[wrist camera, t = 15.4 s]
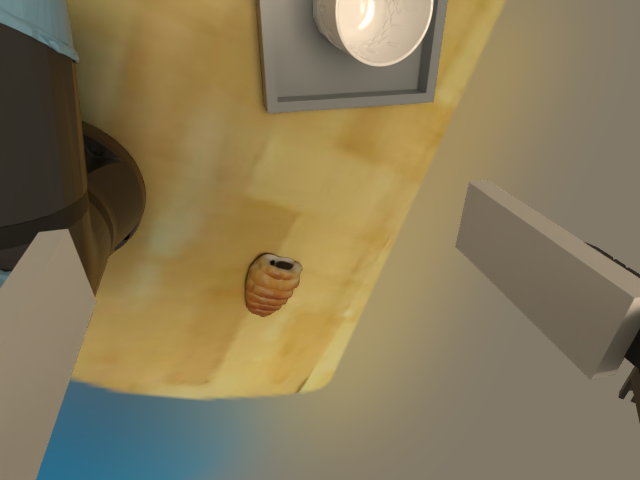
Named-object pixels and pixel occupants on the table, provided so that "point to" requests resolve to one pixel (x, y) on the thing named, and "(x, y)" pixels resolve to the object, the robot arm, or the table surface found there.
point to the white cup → (374, 27)
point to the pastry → (271, 283)
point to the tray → (336, 64)
